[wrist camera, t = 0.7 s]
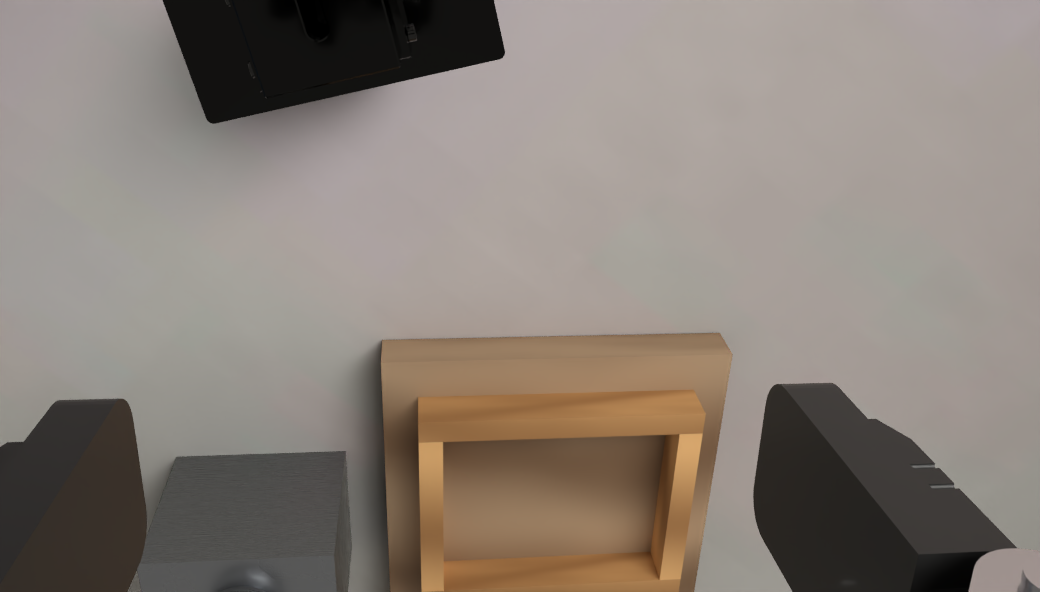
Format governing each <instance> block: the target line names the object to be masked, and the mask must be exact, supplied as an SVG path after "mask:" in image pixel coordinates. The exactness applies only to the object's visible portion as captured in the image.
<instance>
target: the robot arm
mask: <svg viewBox="0 0 1040 592" xmlns="http://www.w3.org/2000/svg"><path fill="white" fill-rule="evenodd" d="M753 498H754V511H755V518H756V522H757V526H758V529H759V532H760V535H761V537H762V539H763V540H764V542H765V544H766V546H767V547H768V549H769V551H770V553H771V554H772V556H773V558H774V560H775V561H776V563H777V565H778V567H779V569H780V570H781V572H782V574H783V576H784V577H785V579H786V581H787V583H788V584H789V586H790V588H791V590H792V591H793V592H1040V551H1036V550H1031V549H1020V548H1017V547H1016V546H1015V545H1014V544H1013V543H1012V542H1011V541H1010V540H1009V539H1008V538H1007V537H1006V536H1005V535H1004V534H1003V533H1002V532H1001V531H1000V530H999V529H998V528H997V527H996V526H995V525H994V524H993V523H992V522H991V521H990V520H989V519H988V518H987V517H986V516H985V515H984V514H983V513H982V512H981V510H980V509H979V508H978V507H977V506H976V505H975V504H974V503H973V502H972V501H971V500H970V499H969V498H968V497H967V496H966V495H965V494H964V493H963V492H962V491H961V490H960V489H955V488H954V483H953V482H952V481H951V480H950V479H949V478H948V477H947V476H946V474H945V473H944V472H943V471H942V470H941V469H940V468H935V463H934V462H933V461H932V460H931V459H930V458H929V457H928V456H927V455H926V454H925V453H924V452H923V451H922V450H921V449H920V448H919V447H918V446H917V445H916V444H915V443H914V442H913V441H912V440H911V439H910V438H908V437H906V436H905V435H903V434H901V433H899V432H898V431H896V430H894V429H892V428H891V427H889V426H887V425H885V424H884V423H882V422H880V421H878V420H877V419H867V417H866V416H865V415H864V414H863V413H862V412H861V411H860V410H859V409H858V408H857V407H856V406H855V404H854V403H853V402H852V401H851V400H850V399H849V398H848V397H847V396H846V395H845V394H844V393H843V392H842V390H841V389H840V388H839V387H838V386H837V385H835V384H833V383H807V384H776V385H774V386H773V387H772V388H771V390H770V392H769V394H768V397H767V401H766V406H765V413H764V420H763V427H762V434H761V441H760V448H759V455H758V462H757V469H756V476H755V483H754V496H753ZM146 528H147V515H146V504H145V498H144V491H143V484H142V477H141V470H140V463H139V457H138V450H137V443H136V436H135V429H134V422H133V417H132V412H131V409H130V407H129V404H128V403H127V401H126V400H124V399H90V400H59V401H56V402H55V403H54V404H53V405H52V406H51V407H50V408H49V410H48V411H47V412H46V414H45V415H44V416H43V418H42V419H41V420H40V421H39V423H38V424H37V425H36V427H35V428H34V429H33V431H32V432H31V433H30V434H29V436H28V437H27V438H26V440H25V441H24V442H7V443H6V444H4V445H3V446H1V447H0V592H127V591H128V589H129V587H130V584H131V582H132V580H133V577H134V575H135V573H136V571H137V568H138V566H139V564H140V561H141V558H142V555H143V551H144V546H145V540H146Z"/></svg>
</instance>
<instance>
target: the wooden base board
mask: <svg viewBox="0 0 1040 592" xmlns="http://www.w3.org/2000/svg"><path fill="white" fill-rule="evenodd" d="M731 361H732V353H731V351H730V349H729V348H728V346H727V344H726V343H725V341H724V339H723V338H722V336H721V334H720V333H697V334H649V335H601V336H552V337H504V338H456V339H408V340H382V353H381V377H382V402H383V426H384V451H385V475H386V500H387V524H388V549H389V573H390V592H694V588H695V582H696V576H697V570H698V564H699V557H700V551H701V545H702V539H703V533H704V527H705V521H706V514H707V508H708V502H709V496H710V490H711V484H712V477H713V471H714V465H715V459H716V453H717V447H718V441H719V434H720V428H721V422H722V416H723V410H724V404H725V397H726V391H727V385H728V379H729V373H730V367H731Z"/></svg>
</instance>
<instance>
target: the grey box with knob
mask: <svg viewBox="0 0 1040 592" xmlns="http://www.w3.org/2000/svg"><path fill="white" fill-rule="evenodd" d="M351 550H352V543H351V528H350V512H349V497H348V482H347V466H346V451H337V452H307V453H277V454H247V455H217V456H187V457H176V460H175V463H174V465H173V468H172V471H171V473H170V476H169V479H168V481H167V484H166V487H165V489H164V492H163V495H162V497H161V500H160V502H159V505H158V508H157V510H156V513H155V516H154V518H153V521H152V524H151V526H150V529H149V532H148V534H147V537H146V540H145V546H144V551H143V555H142V558H141V561H140V564H139V566H138V568H137V571H138V576H139V581H140V586H141V591H142V592H348V584H349V572H350V561H351Z"/></svg>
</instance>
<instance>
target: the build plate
mask: <svg viewBox="0 0 1040 592" xmlns="http://www.w3.org/2000/svg"><path fill="white" fill-rule="evenodd" d="M163 2H164V5H165V8H166V11H167V13H168V16H169V19H170V21H171V24H172V27H173V30H174V32H175V35H176V38H177V40H178V43H179V46H180V48H181V51H182V54H183V57H184V59H185V62H186V65H187V67H188V70H189V73H190V76H191V78H192V81H193V84H194V86H195V89H196V92H197V94H198V97H199V100H200V103H201V105H202V108H203V111H204V113H205V116H206V119H207V120H208V121H209V122H210V123H219V122H224V121H228V120H232V119H237V118H241V117H246V116H250V115H255V114H259V113H263V112H268V111H272V110H277V109H281V108H285V107H290V106H294V105H299V104H303V103H308V102H312V101H316V100H321V99H325V98H330V97H334V96H339V95H343V94H347V93H352V92H356V91H361V90H365V89H370V88H374V87H378V86H383V85H387V84H392V83H396V82H401V81H405V80H409V79H414V78H418V77H423V76H427V75H432V74H436V73H440V72H445V71H449V70H454V69H458V68H463V67H467V66H471V65H476V64H480V63H485V62H489V61H494V60H498V59H501V58H503V56H504V54H505V50H504V45H503V41H502V36H501V32H500V27H499V22H498V18H497V13H496V9H495V4H494V0H163Z"/></svg>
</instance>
